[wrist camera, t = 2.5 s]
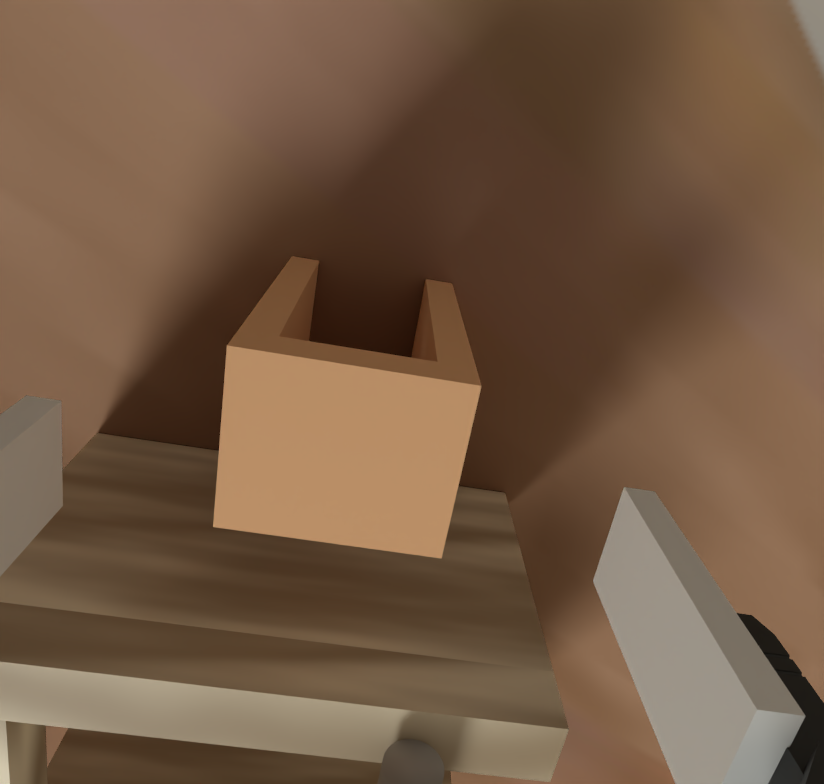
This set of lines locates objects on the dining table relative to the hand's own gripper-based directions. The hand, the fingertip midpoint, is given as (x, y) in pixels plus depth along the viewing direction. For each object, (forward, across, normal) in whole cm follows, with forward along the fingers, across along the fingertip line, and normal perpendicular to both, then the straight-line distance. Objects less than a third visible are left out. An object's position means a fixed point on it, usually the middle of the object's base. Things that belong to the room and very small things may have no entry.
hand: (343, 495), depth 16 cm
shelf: (+12, -2, -12) cm, 17 cm away
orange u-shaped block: (+11, 0, 0) cm, 11 cm away
